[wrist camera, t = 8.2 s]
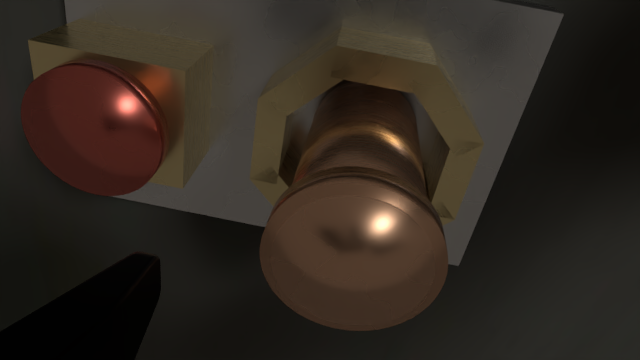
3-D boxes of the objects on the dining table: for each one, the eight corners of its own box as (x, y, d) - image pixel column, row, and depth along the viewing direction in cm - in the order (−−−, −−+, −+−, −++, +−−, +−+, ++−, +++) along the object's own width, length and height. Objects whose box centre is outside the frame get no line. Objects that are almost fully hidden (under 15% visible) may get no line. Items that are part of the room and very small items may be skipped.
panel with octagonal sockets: (554, 7, 17) (619, 50, 12) (455, 251, 22) (474, 343, 18) (71, -88, 17) (-44, -81, 12) (96, 179, 22) (23, 252, 18)
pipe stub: (439, 84, 17) (474, 207, 10) (408, 191, 20) (420, 348, 13) (313, 61, 17) (267, 168, 11) (298, 170, 20) (251, 315, 13)
